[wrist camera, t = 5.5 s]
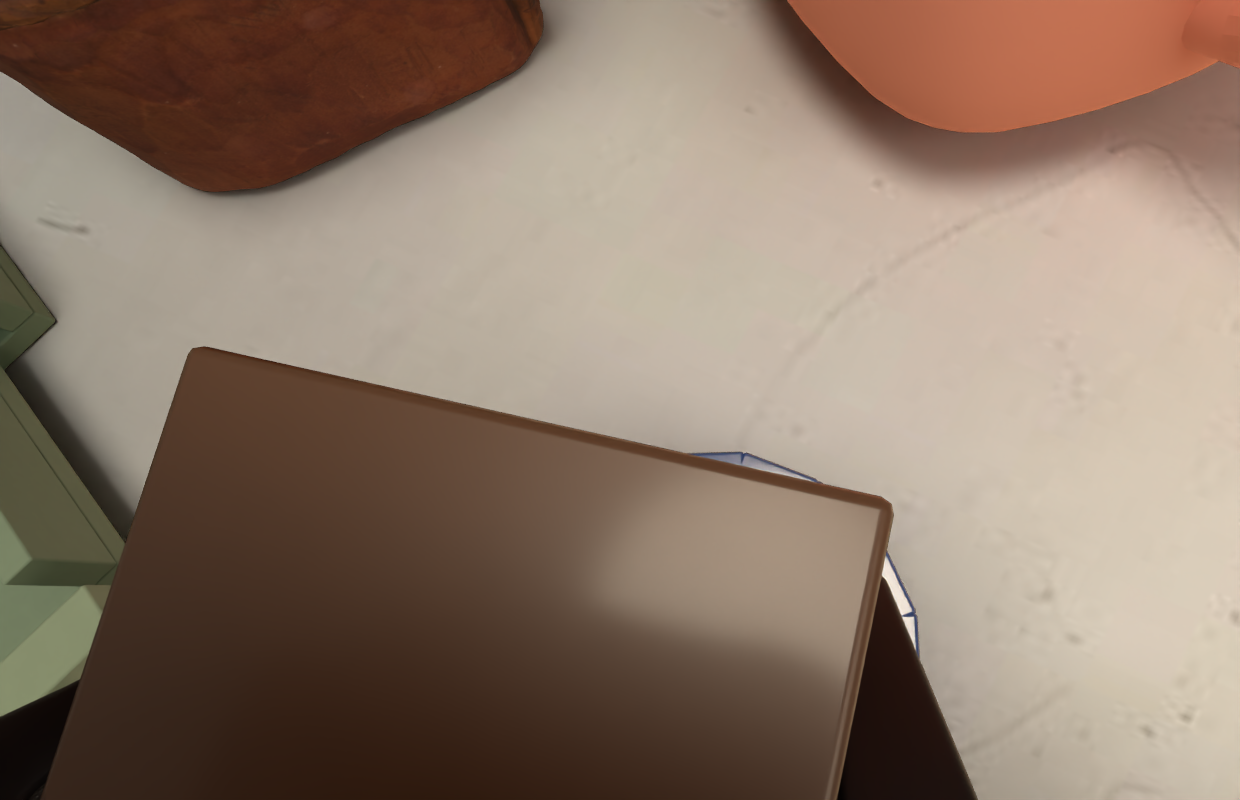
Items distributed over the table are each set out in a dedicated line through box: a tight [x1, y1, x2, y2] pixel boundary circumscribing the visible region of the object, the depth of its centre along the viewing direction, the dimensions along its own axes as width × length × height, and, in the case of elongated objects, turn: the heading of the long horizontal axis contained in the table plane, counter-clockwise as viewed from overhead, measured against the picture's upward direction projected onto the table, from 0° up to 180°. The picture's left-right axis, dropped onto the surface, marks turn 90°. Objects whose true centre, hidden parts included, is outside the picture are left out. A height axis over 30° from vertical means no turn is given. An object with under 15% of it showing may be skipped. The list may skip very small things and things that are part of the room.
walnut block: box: [40, 347, 894, 800], centre depth 10 cm, size 4×4×12 cm
